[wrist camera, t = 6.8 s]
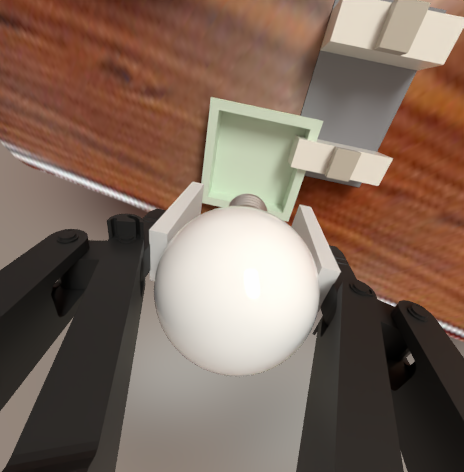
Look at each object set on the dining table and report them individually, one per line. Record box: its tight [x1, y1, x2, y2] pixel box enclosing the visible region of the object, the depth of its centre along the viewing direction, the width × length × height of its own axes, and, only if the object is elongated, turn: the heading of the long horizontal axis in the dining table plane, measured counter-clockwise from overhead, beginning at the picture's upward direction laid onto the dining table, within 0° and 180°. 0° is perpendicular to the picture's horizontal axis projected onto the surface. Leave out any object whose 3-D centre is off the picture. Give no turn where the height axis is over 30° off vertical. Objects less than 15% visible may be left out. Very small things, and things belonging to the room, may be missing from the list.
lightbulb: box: [154, 194, 320, 376], centre depth 11 cm, size 6×6×11 cm
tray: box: [201, 97, 323, 221], centre depth 28 cm, size 12×12×3 cm
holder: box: [288, 0, 464, 187], centre depth 23 cm, size 10×17×6 cm, turn 170°
